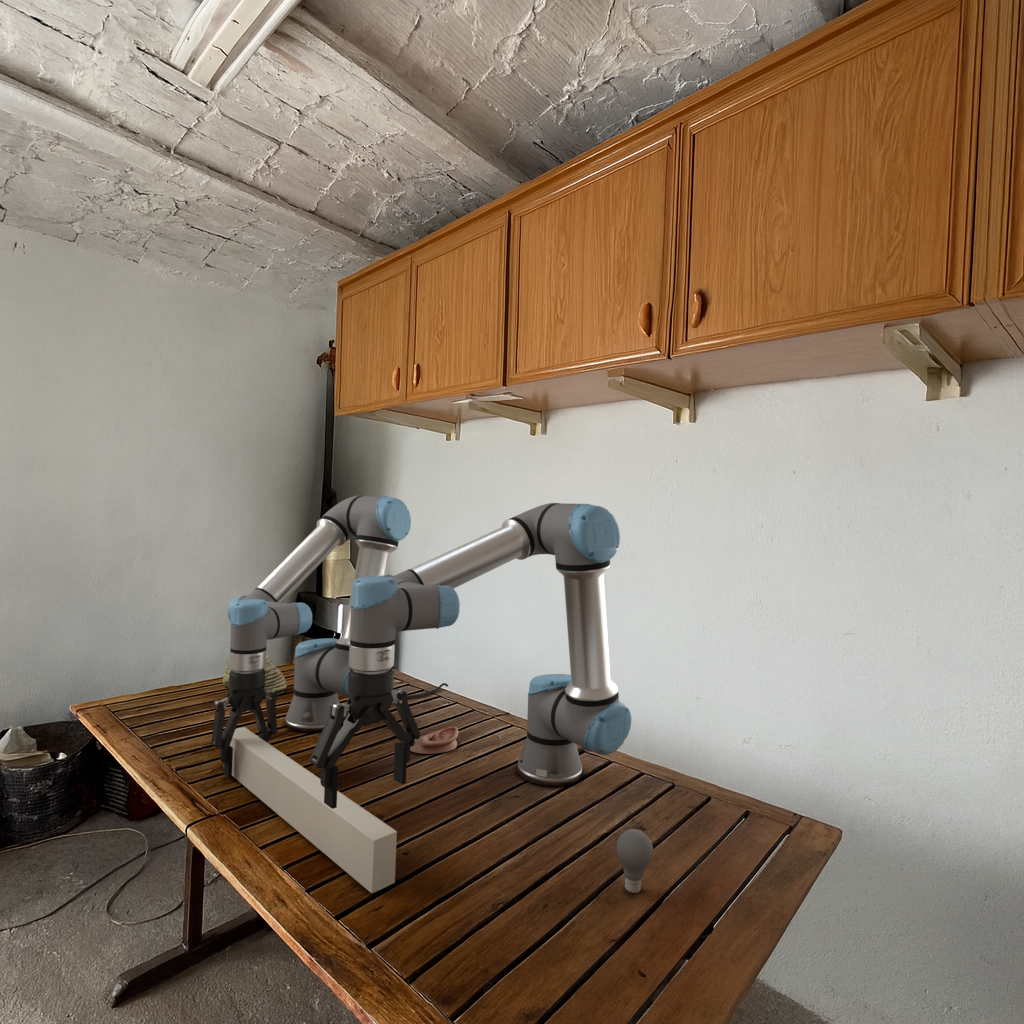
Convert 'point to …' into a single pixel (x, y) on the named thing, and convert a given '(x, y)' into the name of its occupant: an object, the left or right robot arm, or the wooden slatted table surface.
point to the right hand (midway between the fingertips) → (366, 793)
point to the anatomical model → (436, 741)
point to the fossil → (272, 677)
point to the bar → (316, 811)
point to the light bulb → (634, 857)
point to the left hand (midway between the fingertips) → (243, 771)
